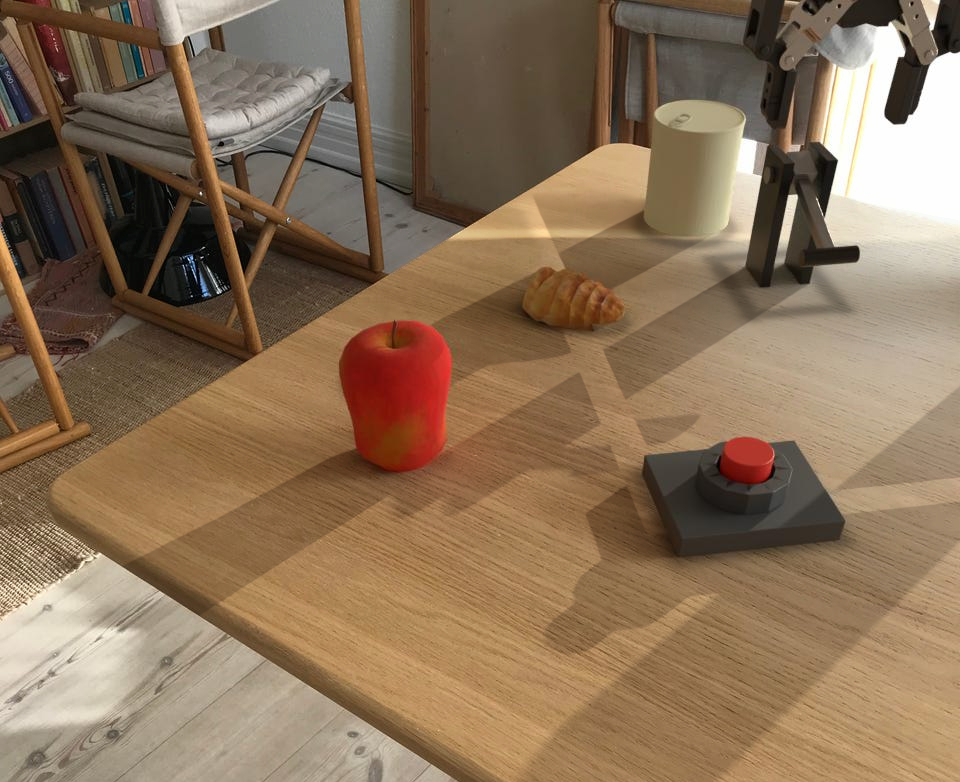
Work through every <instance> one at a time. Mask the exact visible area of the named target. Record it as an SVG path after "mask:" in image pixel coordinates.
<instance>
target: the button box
mask: <svg viewBox="0 0 960 782" xmlns="http://www.w3.org/2000/svg"><path fill="white" fill-rule="evenodd" d="M728 441H729V440H727V441H720V442H718V443H716V444H714V445H712V446H711V447H709V448H703V449H693V450H683V451H674V452H663V453H654V454H653V453H651V454H645V455H644V456H643V462H642V463H643V464H642V470H641V476H642V478H643V481H644V483H645V485H646V487H647V490H648V492H649V494H650V496H651V498H652V501H653V503H654V505H655V507H656V510H657V513H658V514H659V517H660V519H661V521H662V523H663V526H664V528H665V531H666V532H667V535H668V538H669V540H670V542H671V544H672V547H673V548H674V551H675V553H676V556H677V558H678V559H681V558H691V557H698V556H699V557H700V556H709V555H717V554H726V553H735V552H744V551H745V552H746V551H753V550H762V549H771V548H781V547H789V546H799V545H808V544H817V543H825V542H834V541H840V540H841V537H842V533H843V531H844V527H845V524H846V519H845V517H844V516H843V514H842V513H841V511H840V510H839V508H838V506H837V505H836V503H835V502H834V500H833V499H832V497H831V495H830V494H829V492H828V491H827V489H826V487H825V486H824V484H823V483H822V481H821V480H820V478H819V476H818V475H817V473H816V472H815V470H814V468H813V467H812V465H811V463H810V462H809V460H808V459H807V458H806V456H805V454H804V453H803V451H802V450H801V448H800V447H799V445H798V443H797V441H796V440H783V441H773V442H767V443H768V444H769V445H770V446H771V447H772V449H773V450H774V459H773V464H772V468H771V472H770V476H769V478H768V479H767V480H766V481H764V482H763V483H759V484H749V485H747V484H743V483H738V482H733V481H731V480H729V479H728V478H726V477H724V476H723V475H722V474H721V472H720V462H721V457H722V452H723V447H724V445H725V444H726V443H727V442H728Z"/></svg>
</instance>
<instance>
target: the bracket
mask: <svg viewBox="0 0 960 782" xmlns="http://www.w3.org/2000/svg"><path fill="white" fill-rule="evenodd" d="M807 151H810V153H811V156H812V158H813V161H814V163H815V166H816V169H817V171H818V174H817V176H816V178H815V181H814V183H813V186H812V187H813V190H814V192H815V195H816V198H817V200H818V203H819V206H820V208H821V211H822V214H823V216H824V219H825V220H826V215H827V210H828V207H829V202H830V199H831V193H832V189H833V185H834V180H835V175H836V172H837V167H838V164H839V163H838V162H839V159H838V158H837V157H835V155H834V154H833V153H832V152H831V151H830V150H829V149H828V148H826V146H824V144H823V143H822V142H821V141H809V143H808V147H807ZM786 153H787V152H786V151H784V150H783V149H782V148H781V147H780V145H778V144H769V145H766V152H765V156H764V160H763V161H764V162H763V167H762V173H761V178H760V182H759V183H760V184H759V189H758V193H757V194H758V195H757V200H756V206H755V211H754V216H753V221H752V228H751V233H750V238H749V242H748V243H749V244H748V249H747V254H746V261H745V269H746V271H747V272H748V273H749V275H750V276H751V277H752V278H753V279H754V282H755V283H756V284H757V286H758V287H759V288H762V289H763V288H770V287H771V283H772V278H773V273H774V269H775V264H776V259H777V253H778V248H779V244H780V238H781V233H782V228H783V224H784V219H785V214H786V209H787V204H788V199H789V196H790V195H789V190H790V185H791V180H792V175H793V170H794V165H795V163H794V162H793V161H792V160H791V159H790V158H789V157H788V155H787V154H786ZM803 249H816V245H815V242H814V239H813V237H812V234H811V231H810V229H809V226H808V223H807V220H806V218H805V215H804V212H803V209H802V207H801V204H800V201H799V199H798V198H797V200H796V203H795V209H794V214H793V219H792V224H791V228H790V233H789V238H788V243H787V247H786V252H785V257H784V262H783V265H784V266H785V267H786V268H787V270H788V271H789V272H790V273H791V275H792V276H793V277H794V278H795V280H796V282H798V284H799V285H808V284H811V280H812V275H813V271H814V267H815V266H810V267H800V265H799V262H798V257H799V253H800V251H801V250H803Z"/></svg>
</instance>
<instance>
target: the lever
mask: <svg viewBox="0 0 960 782" xmlns="http://www.w3.org/2000/svg"><path fill="white" fill-rule="evenodd" d="M785 153H786V154H787V155H788V157H789V158H790V159H791V160H792V161H793V162H794V163H795V165H794V170H793V175H792V180H791V185H790V190H789V195H788V196H796V195H797V199H799V201H800V204H801V207H802V209H803V212H804V215H805V218H806V220H807V223H808V226H809V229H810V231H811V234H812V237H813V239H814V242H815V245H816V249H803V250H801V251H800V253H799V257H798V262H799V265H800V267H810V266H814V267H821V266H833V265H843V264H846V265H847V264H856V263H858V261H859V260H860V256H861V249H860V247H859V246H858V245H857V244H855V245H854V244H853V245H841V246H835V244H834V241H833V237H832V235H831V233H830V230H829V227H828V225H827V222H826V218H825V219H824V216H823V214H822V211H821V208H820V206H819V203H818V200H817V198H816V195H815V192H814V190H813V187H812V186H813V183H814V181H815V178H816V176H817V174H818V171H817V169H816V166H815V163H814V161H813V158H812V156H811V153H810V151H808V150H798V151H787V152H785Z"/></svg>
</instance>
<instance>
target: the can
mask: <svg viewBox="0 0 960 782" xmlns="http://www.w3.org/2000/svg"><path fill="white" fill-rule="evenodd" d="M746 122H747V117H746V114H744V112H743V111H742V110H740V109H739V108H737V107H735V106H733V105H730V104H728V103H723V102H719V101H715V100H705V99H683V100H676V101H672V102H667V103H664V104H662V105H660V106H658V107H657V108H656V109H655V110H654V112H653V114H652V131H651V132H652V134H651V145H650V155H649V164H648V174H647V183H646V192H645V193H646V194H645V202H644V209H643V210H644V212H643V220H644V222H645V223H646V224H647V225H648V226H649V227H650V228H652V229H653V230H656V231H658V232H661V233H663V234H667V235H669V236H670V235H671V236H676V237H685V238H686V237H687V238H688V237H689V238H692V237H693V238H695V237H697V238H698V237H706V236H711V235H714V234H717V233H719V232H721V231H723V230H724V229H725V228H726V227H727V226H728V224H729V220H730V213H731V207H732V201H733V193H734V188H735V187H734V186H735V181H736V176H737V170H738V169H737V168H738V163H739V156H740V150H741V144H742V139H743V135H744V128H745V125H746Z"/></svg>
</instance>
